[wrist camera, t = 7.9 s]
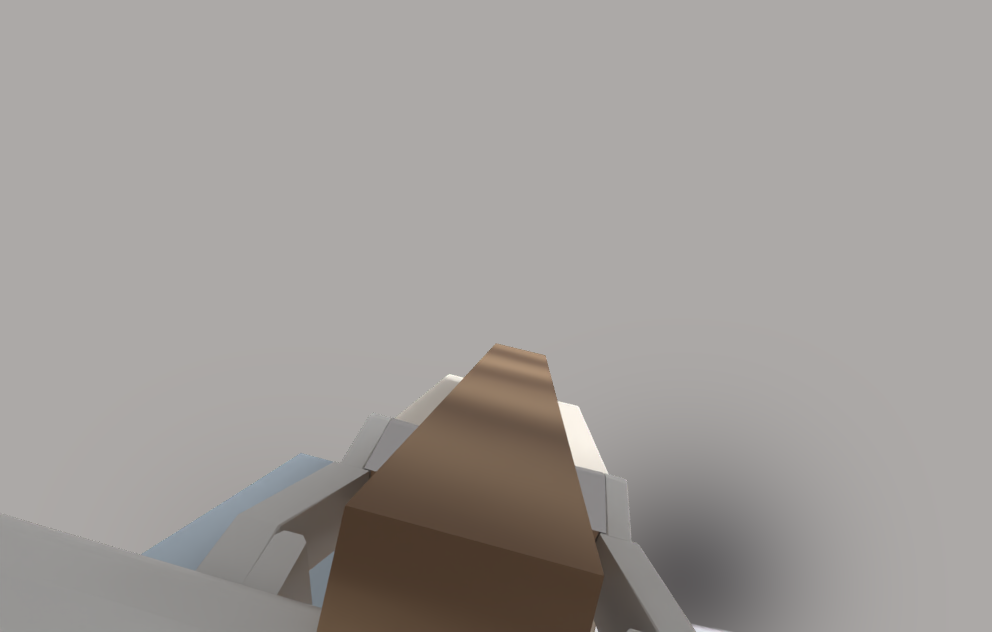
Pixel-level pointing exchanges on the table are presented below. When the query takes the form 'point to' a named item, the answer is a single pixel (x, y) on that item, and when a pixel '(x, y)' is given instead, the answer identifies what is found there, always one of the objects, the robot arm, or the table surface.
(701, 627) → the table surface
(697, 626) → the table surface
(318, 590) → the stand
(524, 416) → the beam
